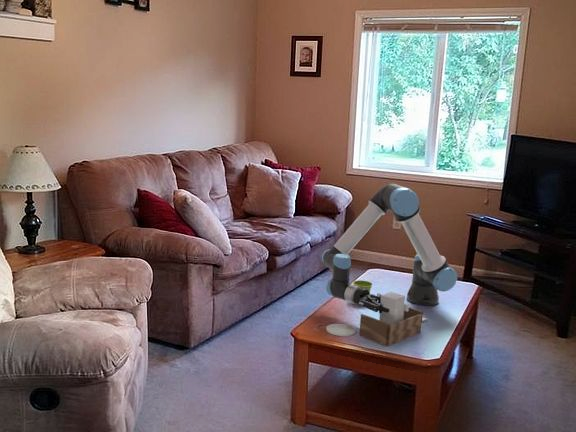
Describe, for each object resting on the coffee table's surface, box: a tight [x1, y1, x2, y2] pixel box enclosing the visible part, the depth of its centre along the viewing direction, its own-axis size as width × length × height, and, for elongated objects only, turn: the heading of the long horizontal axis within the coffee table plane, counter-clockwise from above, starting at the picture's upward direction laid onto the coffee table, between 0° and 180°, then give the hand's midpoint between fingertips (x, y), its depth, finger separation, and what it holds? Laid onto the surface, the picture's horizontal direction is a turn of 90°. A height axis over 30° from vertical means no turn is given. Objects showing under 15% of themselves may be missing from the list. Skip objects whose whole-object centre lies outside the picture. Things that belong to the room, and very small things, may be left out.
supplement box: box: [378, 291, 406, 325], centre depth 249 cm, size 7×7×13 cm
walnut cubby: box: [358, 306, 424, 347], centre depth 250 cm, size 24×14×9 cm, turn 135°
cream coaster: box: [326, 323, 356, 337], centre depth 251 cm, size 12×12×1 cm
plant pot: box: [352, 279, 374, 294], centre depth 289 cm, size 9×9×9 cm
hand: (402, 310), depth 245 cm, fingers closed on supplement box, 7 cm apart
